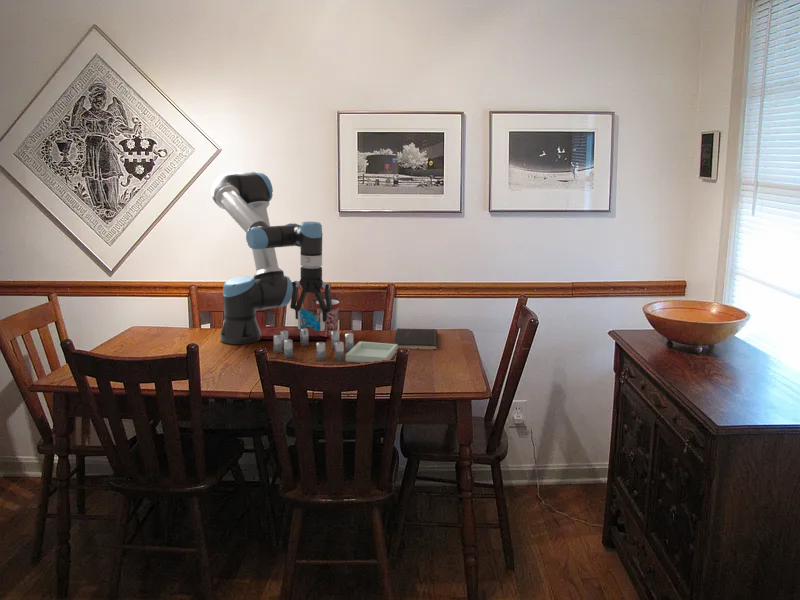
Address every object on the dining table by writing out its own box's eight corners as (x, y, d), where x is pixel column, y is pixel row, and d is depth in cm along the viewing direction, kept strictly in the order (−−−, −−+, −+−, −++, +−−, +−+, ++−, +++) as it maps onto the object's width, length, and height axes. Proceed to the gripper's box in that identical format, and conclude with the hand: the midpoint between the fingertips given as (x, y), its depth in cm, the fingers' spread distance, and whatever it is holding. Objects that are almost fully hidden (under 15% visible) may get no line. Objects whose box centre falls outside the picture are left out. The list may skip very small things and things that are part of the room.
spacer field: (266, 356, 253) (266, 340, 252) (287, 342, 271) (286, 327, 270) (340, 362, 247) (340, 345, 246) (356, 347, 265) (356, 332, 264)
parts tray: (345, 361, 249) (345, 354, 248) (359, 347, 265) (359, 341, 265) (386, 364, 246) (386, 357, 245) (397, 350, 262) (397, 344, 262)
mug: (336, 339, 277) (335, 304, 274) (313, 337, 278) (312, 303, 275) (344, 331, 289) (344, 298, 286) (322, 329, 290) (322, 296, 287)
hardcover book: (393, 350, 265) (393, 344, 265) (396, 333, 288) (396, 328, 287) (437, 351, 264) (437, 345, 264) (437, 334, 287) (437, 329, 286)
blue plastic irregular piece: (316, 330, 251) (298, 308, 252) (304, 341, 253) (287, 319, 254) (328, 326, 262) (311, 305, 263) (316, 337, 263) (299, 316, 264)
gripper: (279, 266, 251) (280, 329, 256) (335, 270, 247) (335, 334, 252) (287, 262, 258) (288, 323, 264) (342, 266, 254) (341, 328, 259)
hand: (311, 329), depth 258 cm, fingers closed on blue plastic irregular piece, 8 cm apart
